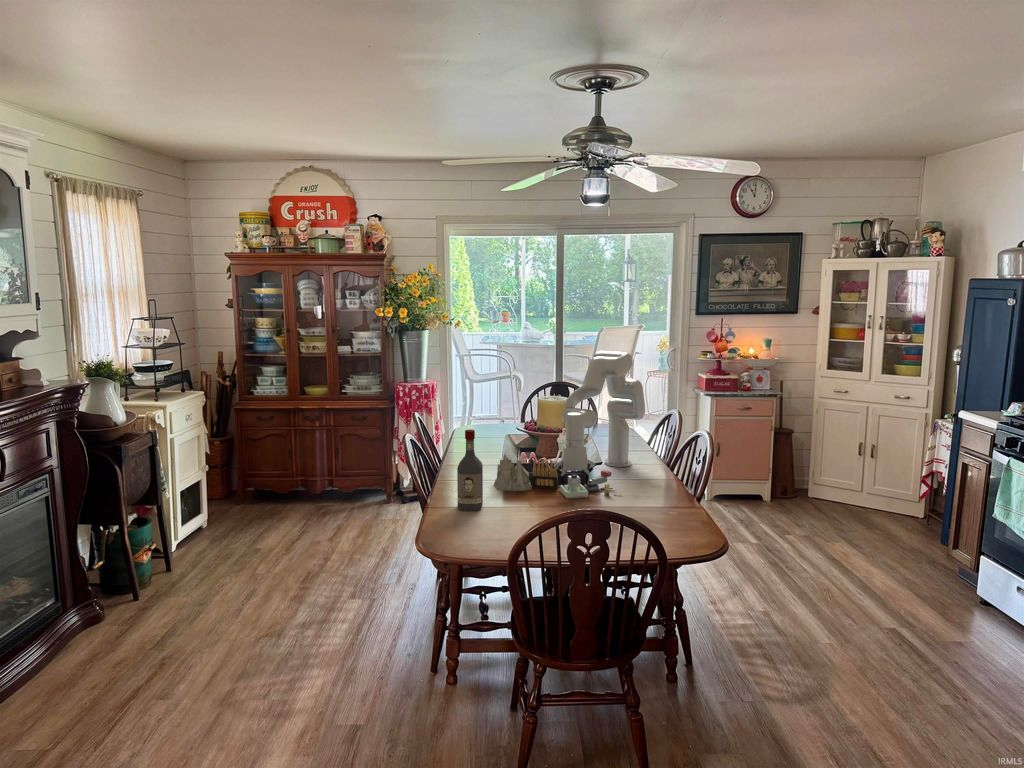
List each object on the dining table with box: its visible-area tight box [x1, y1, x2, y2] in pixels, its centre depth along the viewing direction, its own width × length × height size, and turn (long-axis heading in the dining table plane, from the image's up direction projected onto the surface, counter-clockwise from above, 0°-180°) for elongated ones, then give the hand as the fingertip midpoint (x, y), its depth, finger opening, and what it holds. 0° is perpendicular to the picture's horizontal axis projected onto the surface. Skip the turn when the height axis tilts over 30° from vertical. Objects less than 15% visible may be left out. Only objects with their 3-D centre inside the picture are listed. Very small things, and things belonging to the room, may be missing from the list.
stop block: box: [567, 474, 581, 492], centre depth 276 cm, size 4×4×7 cm
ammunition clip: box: [531, 459, 559, 490], centre depth 284 cm, size 11×2×12 cm, turn 79°
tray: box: [559, 483, 589, 499], centre depth 277 cm, size 10×9×2 cm
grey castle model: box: [493, 454, 532, 492], centre depth 288 cm, size 16×16×15 cm
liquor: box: [456, 429, 484, 512], centre depth 258 cm, size 9×9×30 cm
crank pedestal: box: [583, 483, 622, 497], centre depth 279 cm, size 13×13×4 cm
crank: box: [586, 469, 612, 487], centre depth 284 cm, size 12×4×4 cm, turn 131°
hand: (574, 484), depth 276 cm, fingers open, 9 cm apart
